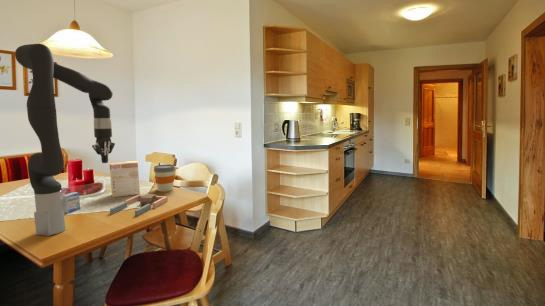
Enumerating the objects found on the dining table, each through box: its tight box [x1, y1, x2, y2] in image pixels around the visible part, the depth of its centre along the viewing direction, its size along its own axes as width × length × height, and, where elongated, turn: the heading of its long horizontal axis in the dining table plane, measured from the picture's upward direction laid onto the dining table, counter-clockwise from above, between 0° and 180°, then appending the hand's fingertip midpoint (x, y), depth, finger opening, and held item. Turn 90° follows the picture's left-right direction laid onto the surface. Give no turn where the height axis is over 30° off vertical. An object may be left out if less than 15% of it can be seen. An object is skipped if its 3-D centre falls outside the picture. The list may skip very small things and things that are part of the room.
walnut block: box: [139, 193, 157, 205], centre depth 170 cm, size 6×6×4 cm
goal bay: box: [123, 194, 169, 209], centre depth 169 cm, size 12×18×2 cm
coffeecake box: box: [109, 160, 141, 198], centre depth 185 cm, size 15×7×20 cm, turn 114°
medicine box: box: [62, 191, 81, 214], centre depth 156 cm, size 8×4×9 cm, turn 168°
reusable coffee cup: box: [153, 164, 176, 192], centre depth 196 cm, size 13×13×15 cm
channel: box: [109, 201, 152, 217], centre depth 156 cm, size 11×15×2 cm
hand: (105, 162), depth 154 cm, fingers closed
